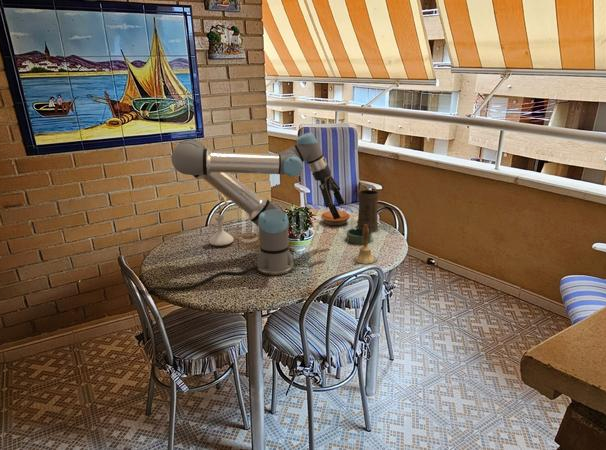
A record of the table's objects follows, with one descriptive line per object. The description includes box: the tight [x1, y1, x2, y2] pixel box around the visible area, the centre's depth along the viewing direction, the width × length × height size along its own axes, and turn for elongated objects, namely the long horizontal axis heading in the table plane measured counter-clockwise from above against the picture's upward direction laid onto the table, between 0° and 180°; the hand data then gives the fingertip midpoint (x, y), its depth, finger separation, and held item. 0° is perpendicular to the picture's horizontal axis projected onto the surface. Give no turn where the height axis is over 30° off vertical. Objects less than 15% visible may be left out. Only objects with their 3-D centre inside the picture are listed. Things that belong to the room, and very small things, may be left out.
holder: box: [346, 227, 373, 245], centre depth 195 cm, size 12×12×4 cm
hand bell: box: [354, 224, 376, 265], centre depth 171 cm, size 8×8×16 cm
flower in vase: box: [209, 191, 235, 247], centre depth 191 cm, size 13×11×25 cm
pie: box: [320, 210, 351, 226], centre depth 219 cm, size 16×16×5 cm
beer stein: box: [356, 189, 379, 233], centre depth 209 cm, size 15×11×20 cm
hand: (339, 211), depth 179 cm, fingers open, 13 cm apart
